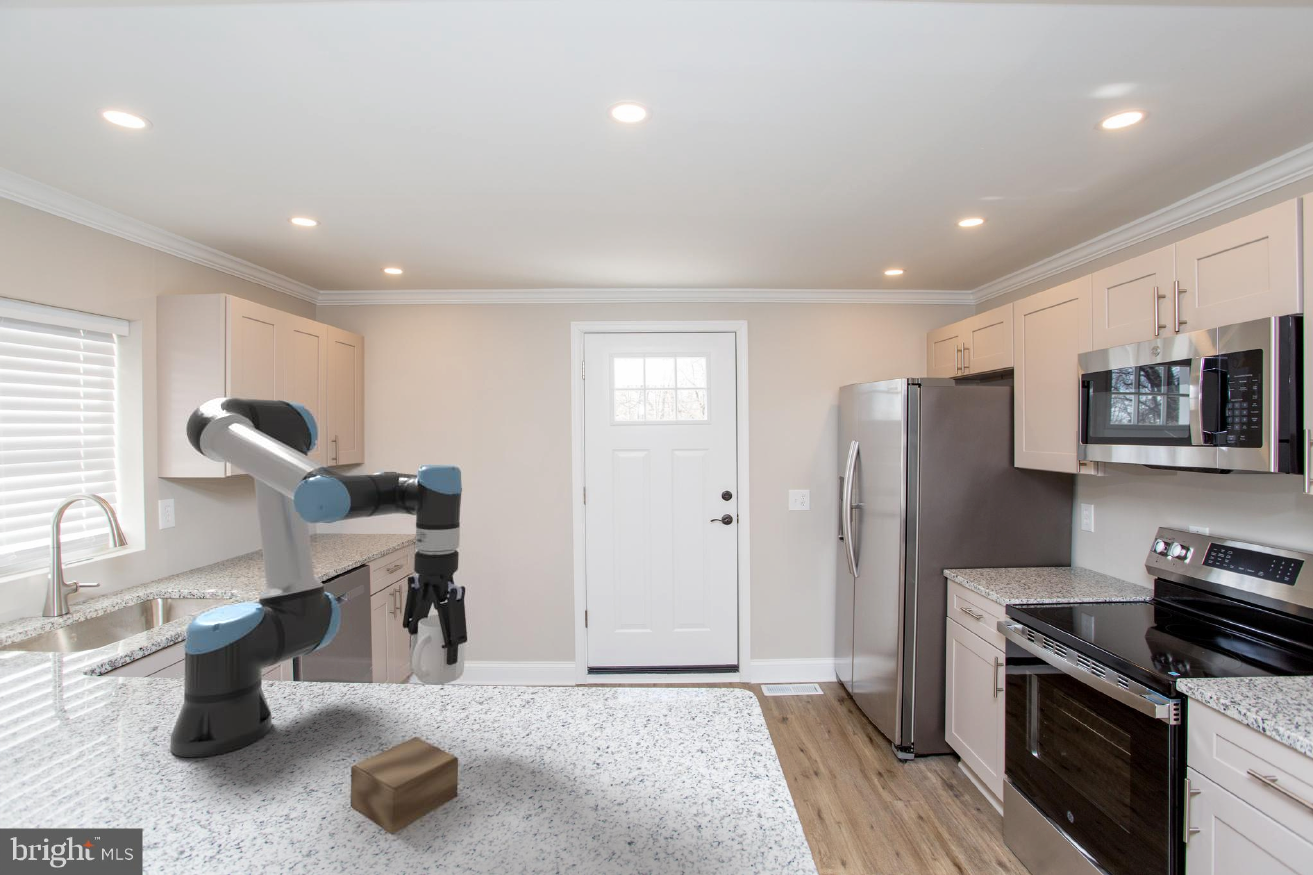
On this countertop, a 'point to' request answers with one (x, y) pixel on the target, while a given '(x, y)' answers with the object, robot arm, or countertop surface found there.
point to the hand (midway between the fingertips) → (432, 674)
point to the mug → (432, 652)
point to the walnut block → (403, 783)
